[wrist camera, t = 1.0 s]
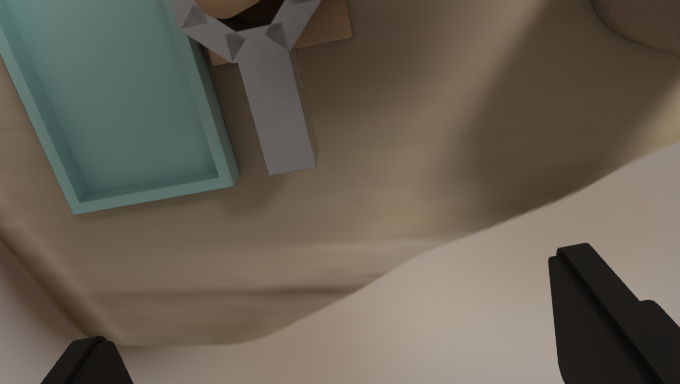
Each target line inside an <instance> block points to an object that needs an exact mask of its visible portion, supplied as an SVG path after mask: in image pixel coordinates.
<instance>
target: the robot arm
mask: <svg viewBox="0 0 680 384" xmlns="http://www.w3.org/2000/svg"><path fill="white" fill-rule="evenodd" d="M548 265H549V276H550V285H551V295H552V306H553V316H554V326H555V336H556V346H557V356H558V365H559V369H560V372H561V376H562V378H563V381H564V383H565V384H680V327H679V326H678V325H677V324H676V323H675V322H674V321H673V320H672V319H671V317H670V316H669V315H668V314H667V313H666V312H665V311H664V310H663V309H662V308H661V307H660V306H659V305H658V304H657V303H655V302H654V301H652V300H644V301H639V300H638V299H637V298H636V296H635V295H634V294H633V293H632V292H631V291H630V289H629V288H628V287H627V286H626V285H625V284H624V283H623V282H622V280H621V279H620V278H619V277H618V276H617V275H616V274H615V273H614V271H613V270H612V269H611V268H610V267H609V266H608V265H607V264H606V262H605V261H604V260H603V259H602V258H601V257H600V256H599V255H598V253H597V252H596V251H595V250H594V249H593V248H592V247H591V245H590V244H588V243H582V244H577V245H571V246H566V247H561V248H558V249H557V253H556V256H553V257H549V259H548ZM41 384H133V382H132V380H131V378H130V375H129V373H128V371H127V369H126V367H125V365H124V363H123V361H122V359H121V356H120V354H119V352H118V350H117V348H116V346H115V344H114V343H113V342H112V341H107V340H106V339H105V338H104V337H103V336H96V337H90V338H85V339H80V340H76V341H73V342H72V343H71V344H70V345H69V346H68V348H67V349H66V350H65V352H64V353H63V354H62V356H61V357H60V358H59V360H58V361H57V362H56V364H55V365H54V367H53V368H52V369H51V370H50V372H49V373H48V374H47V376H46V377H45V378H44V380H43V381H42V382H41Z"/></svg>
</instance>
